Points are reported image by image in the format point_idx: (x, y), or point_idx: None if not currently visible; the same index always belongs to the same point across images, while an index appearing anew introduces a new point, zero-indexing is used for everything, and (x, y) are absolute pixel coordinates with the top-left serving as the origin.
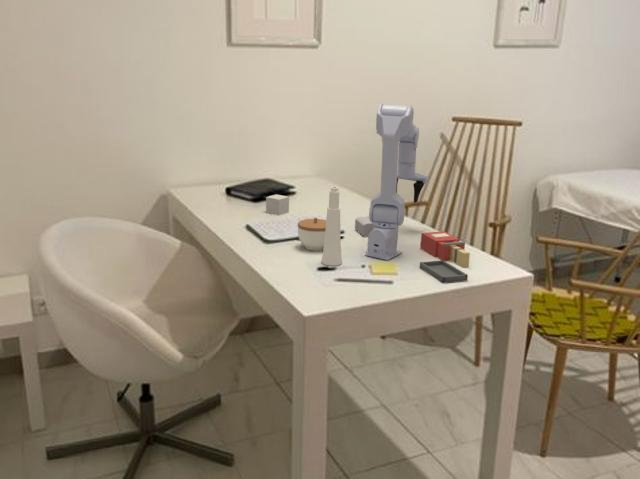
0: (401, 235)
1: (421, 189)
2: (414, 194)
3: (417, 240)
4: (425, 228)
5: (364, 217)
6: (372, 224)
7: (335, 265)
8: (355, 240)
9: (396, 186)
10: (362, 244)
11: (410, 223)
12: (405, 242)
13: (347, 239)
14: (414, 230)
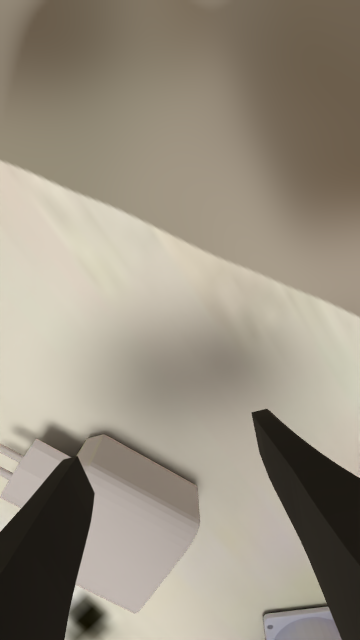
0: (226, 444)
1: (358, 478)
2: (304, 540)
3: None
4: (239, 275)
5: None
6: (153, 589)
7: None
8: (148, 601)
9: (24, 569)
10: (195, 616)
11: (137, 253)
12: None
13: (122, 610)
14: (222, 343)
